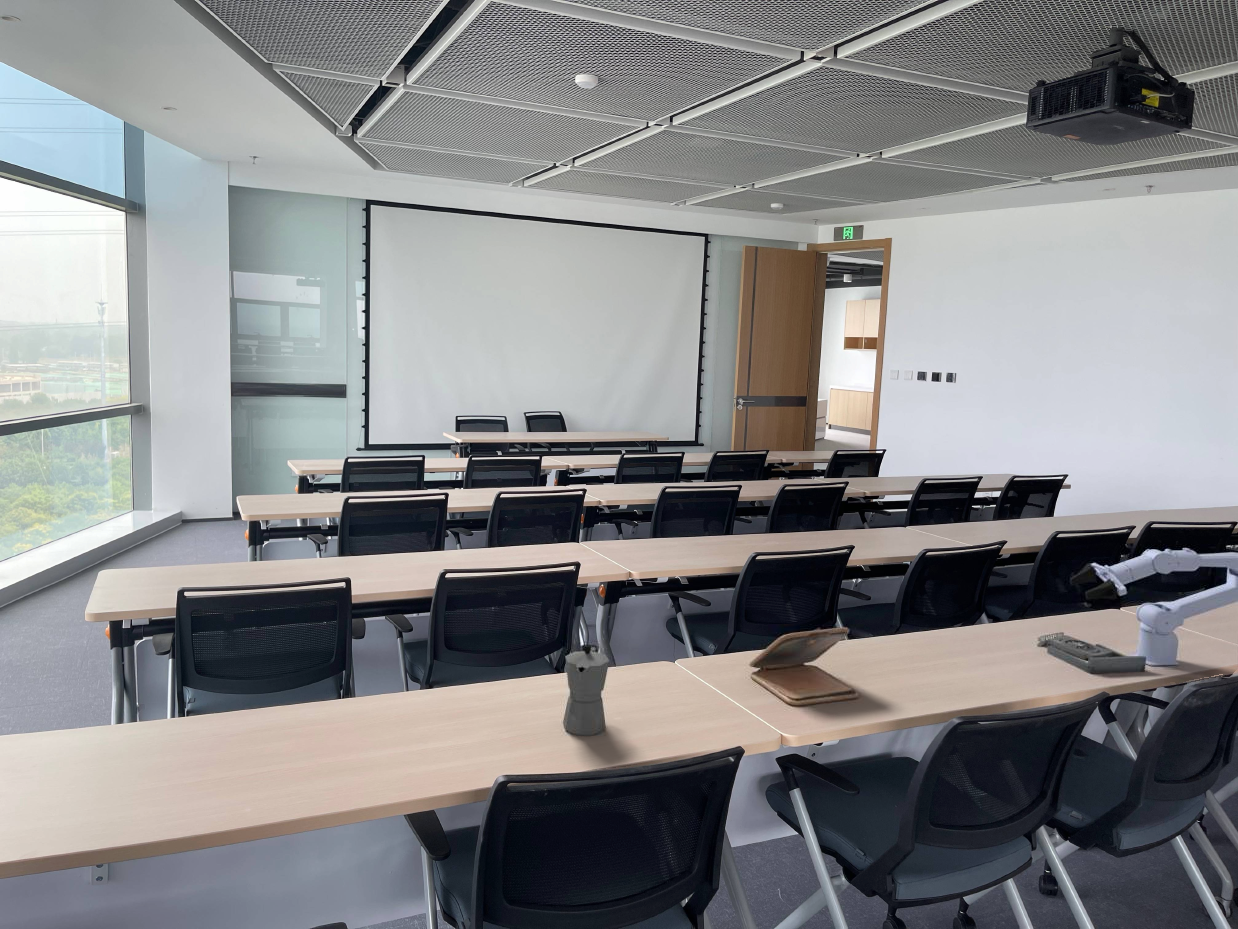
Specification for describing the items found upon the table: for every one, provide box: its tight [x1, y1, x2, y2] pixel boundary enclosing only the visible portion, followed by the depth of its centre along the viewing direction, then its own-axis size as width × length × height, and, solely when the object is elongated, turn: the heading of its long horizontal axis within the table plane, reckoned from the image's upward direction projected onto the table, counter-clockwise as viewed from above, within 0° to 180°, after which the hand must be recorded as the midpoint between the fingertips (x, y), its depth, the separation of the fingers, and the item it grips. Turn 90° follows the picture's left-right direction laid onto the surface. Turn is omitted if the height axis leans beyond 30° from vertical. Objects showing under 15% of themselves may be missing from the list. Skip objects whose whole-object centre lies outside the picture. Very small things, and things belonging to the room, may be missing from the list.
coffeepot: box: [562, 644, 610, 737], centre depth 175 cm, size 15×9×18 cm, turn 171°
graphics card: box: [1036, 631, 1112, 660], centre depth 238 cm, size 17×4×12 cm
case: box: [748, 627, 859, 707], centre depth 202 cm, size 20×21×16 cm
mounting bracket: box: [1046, 643, 1147, 675], centre depth 231 cm, size 17×16×4 cm
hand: (1078, 589), depth 233 cm, fingers open, 7 cm apart
